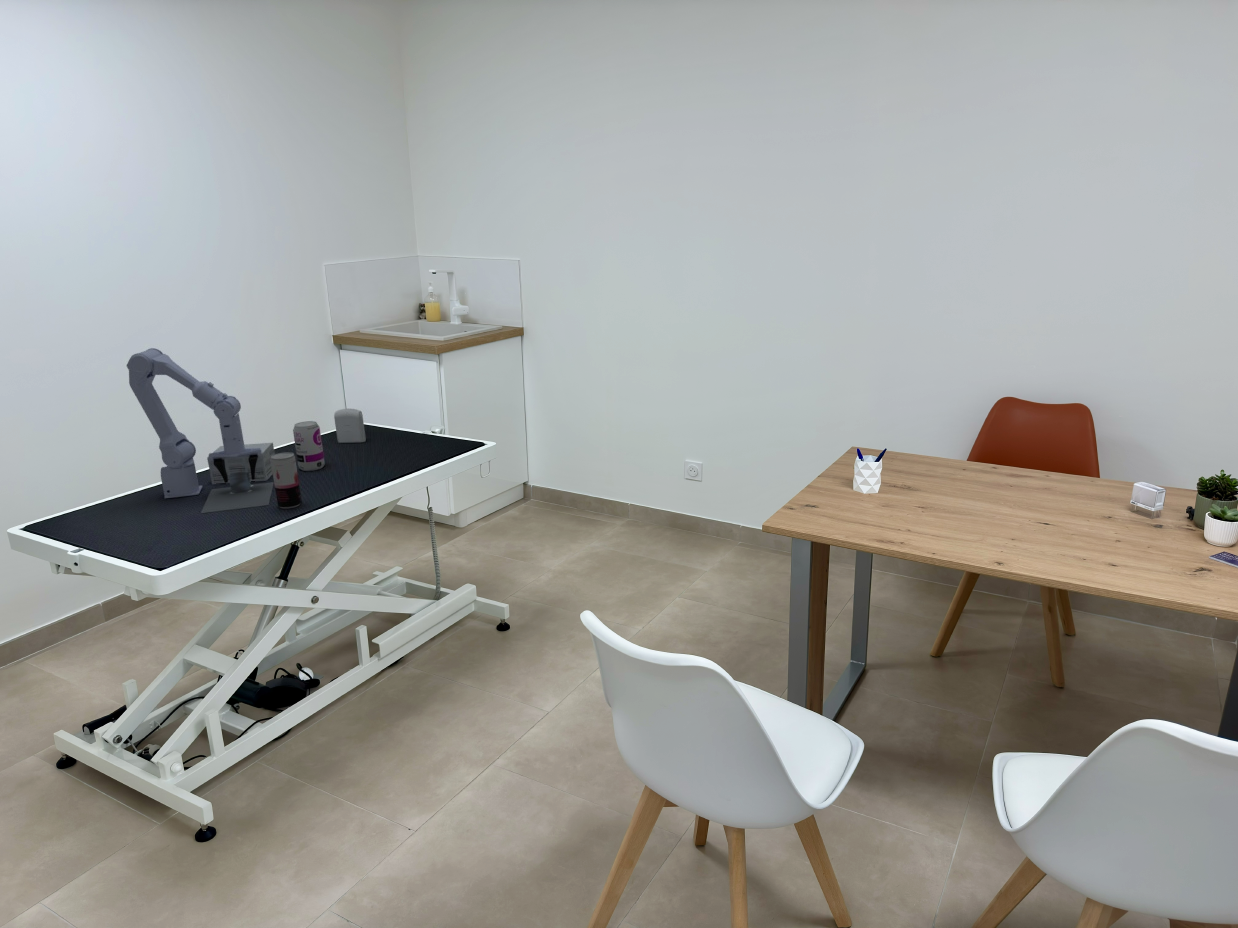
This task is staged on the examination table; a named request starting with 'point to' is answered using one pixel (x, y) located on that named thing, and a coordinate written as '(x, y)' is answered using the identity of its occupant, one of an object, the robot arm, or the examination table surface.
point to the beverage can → (286, 480)
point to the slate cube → (239, 481)
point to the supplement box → (245, 464)
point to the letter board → (238, 498)
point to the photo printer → (349, 426)
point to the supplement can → (308, 446)
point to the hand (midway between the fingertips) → (239, 480)
